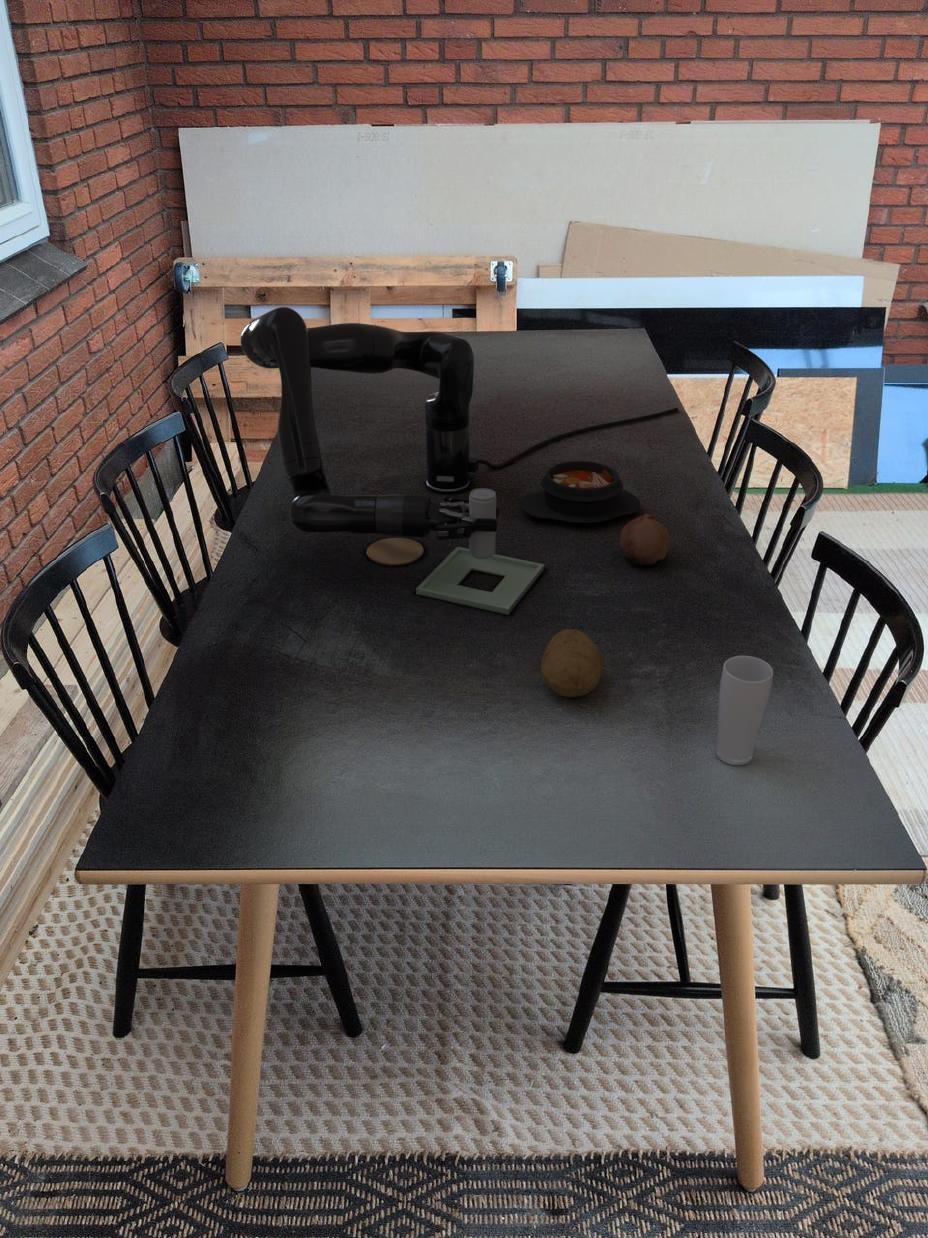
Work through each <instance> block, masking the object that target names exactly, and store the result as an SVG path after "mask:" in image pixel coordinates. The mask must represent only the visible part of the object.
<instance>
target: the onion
mask: <svg viewBox="0 0 928 1238" xmlns="http://www.w3.org/2000/svg"><path fill="white" fill-rule="evenodd" d="M619 544H620V548H621V551H622V552H623V554H624V555H625V556H626V557H627V559H628V560H630V561H631V562H632V563H633V564H635V565H639V566H641V567H644V566H651V565H655V564H656V562H659V561H660V560H664V559H665V557H666V556H667V552H668V551H669V549H670V544H671V536H670V533H669V531H668V529H667V528H666V527H665V525H664V524H663V523H661V522H660V521H659V520H658V519H657V518H656V517H655V516H653V515H652V514H650V513H644V514H642V515H639V516H638V517H636V518H634V519H632V520H630V521H629V522H627V523H626V524H625V525H624V526H623V528H622V529H621V531H620V534H619Z"/></svg>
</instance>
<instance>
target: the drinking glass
mask: <svg viewBox="0 0 928 1238" xmlns="http://www.w3.org/2000/svg"><path fill="white" fill-rule="evenodd" d="M773 681H774V669H773V667H772V666H771V665H770V664H769V663H768V662H766V661H765V660H763V659H761V658H759V657H756V656H753V655H752V656H751V655H735V656H732V657H730V658H727V659H726V660H725V662H724V663H723V666H722V671H721V675H720V681H719V687H718V688H719V689H718V704H717V705H718V706H717V723H716V724H717V725H716V739H715V740H716V741H715V746H716V748H717V750H718V751H719V752H720V753H721V754H722V755H724V756H726V757H728V758H733V759H735V760H736V759H737V760H742V759H747V758H749V757H751V756H752V755H753V753H754V754H755V749H756V745H757V742H758V738H759V734H760V731H761V727H762V724H763V721H764V718H765V715H766V711H767V709H768V705H769V702H770V696H771V692H772V687H773ZM714 753H715V755H716V757H717V758H718V759H719V760H720V761H721V762H723V763H724V764H727V765H730V766H745V765H746V764H748V763H750V762H751V761H752V760H753V758H754V755H753V757H752V758H751V759H749V760H747V761H744V762H733V761H729V760H726V759H724V758H722V757H721V756H720V755H719V754H718V753H717V752H716V749H715V748H714Z"/></svg>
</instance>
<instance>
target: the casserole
mask: <svg viewBox="0 0 928 1238" xmlns="http://www.w3.org/2000/svg"><path fill="white" fill-rule="evenodd" d="M540 487H541V488H542V490H537V491H533V492H529V493H526V494H525V495H524V496H523V497H522V498H521V501H520V506H521V509H523V511H524V512H525V513H526V514H528V515H530V516H531V517H534V518H538V519H543V520H544V519H545V520H556V521H563V522H566V523H567V522H568V523H575V524H594V523H601V522H606V521H609V520H612V519H615V518H618V517H622V516H627V515H633V514H636V513H637V512H639V510H641V502H640V500H639V498H638V497H637V496H636V495H635V494H633V493H632V492H630V491H628V490H627V489H624V484H623V481H622V479H620V476H619V473H618V472H617V470H615V468H613V467H610V466H608V465H606V464H603V463H600V462H594V461H586V460H573V461H565V462H560V463H557V464H555V465H552V466H550V467H549V468H548V469H547V470H546V473H545V475H544V476H543V477H542V478H541V480H540Z"/></svg>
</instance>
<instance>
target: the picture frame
mask: <svg viewBox="0 0 928 1238" xmlns="http://www.w3.org/2000/svg"><path fill="white" fill-rule="evenodd" d="M472 571H476V572H480V573H485V574H491V575H495V576H500V577H503V578H502V580H501V581H500V582H499V583H498V584H497V585H496V587H495V588H494V589H493V590H492V591H487V590H482V589H479V588H475V587H474V588H473V587H468V586H464V585H460V583H462V581H463V580H464V579H465V578H466V577H467V576H468V575H469V573H470V572H472ZM544 571H545V564H544V563H540V562H534V561H529V560H524V559H520V558H514V557H510V556H505V555H500V554H496V553H494V555H493V556H491V557H490V558H486V559H479V558H475V557H473V556H472V555H471V554H470V552H469V548H467V547H462V546H457V547H455V548H454V549H453V551H451V552H450V554H448V555H447V556H446V558H444V559H443V561H442V562H440V564H439V565H438V566H437V567H436V568H434V569H433V571H432V572H431V573H430V574H429V575H428V576H426V578H425V579H424V580H423V581H422V582H421V583H420V584H418V586H417V587H416V589H415V593H416V595H419V596H423V597H428V598H432V599H437V600H440V601H441V600H442V601H445V602H449V603H454V604H458V605H463V606H468V607H472V608H477V609H481V610H485V611H490V612H494V613H499V614H503V615H507V616H509V615H510V614H511V612H512V611H513V610H514V609H515V607H516V606H517V605H518V603H519V602H520V601H521V599H523V597H524V596H525V594H526V593H527V592H528V591H529V590H530V589H531V587H532V586H533V585H534V584H535V582H536V581H537V579H538V578H539V577H540V576H541V575H542V573H543V572H544Z"/></svg>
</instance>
